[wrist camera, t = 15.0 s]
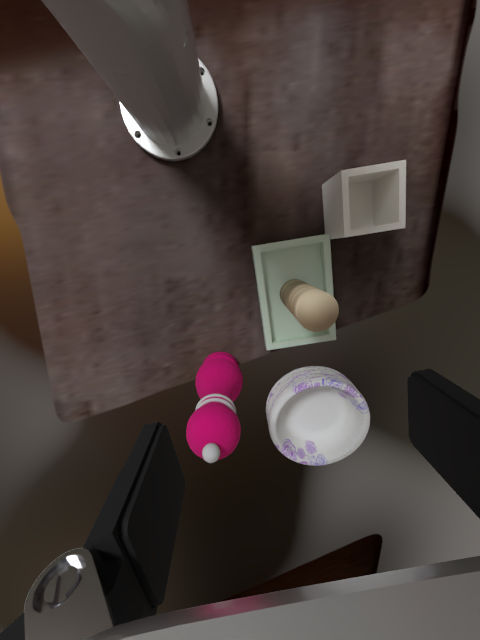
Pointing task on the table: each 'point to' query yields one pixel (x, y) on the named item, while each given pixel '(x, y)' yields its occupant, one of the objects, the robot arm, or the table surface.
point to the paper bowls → (316, 416)
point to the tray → (281, 266)
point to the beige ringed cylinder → (309, 305)
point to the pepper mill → (216, 408)
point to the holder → (365, 200)
